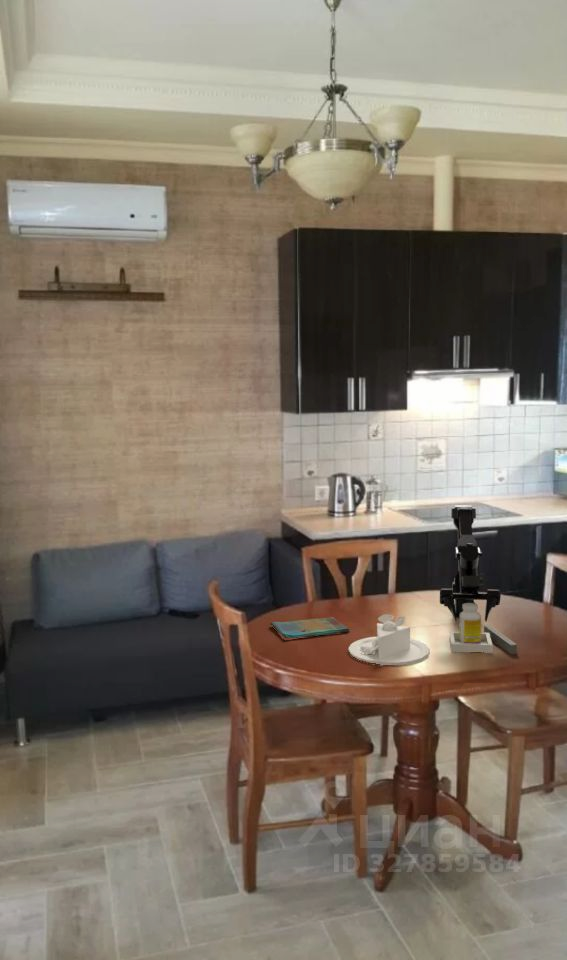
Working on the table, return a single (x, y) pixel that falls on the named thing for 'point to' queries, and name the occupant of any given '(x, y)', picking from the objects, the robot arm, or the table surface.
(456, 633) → the square cradle
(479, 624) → the supplement bottle
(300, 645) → the table surface
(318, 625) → the dish towel
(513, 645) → the long gray bar
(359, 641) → the dish
